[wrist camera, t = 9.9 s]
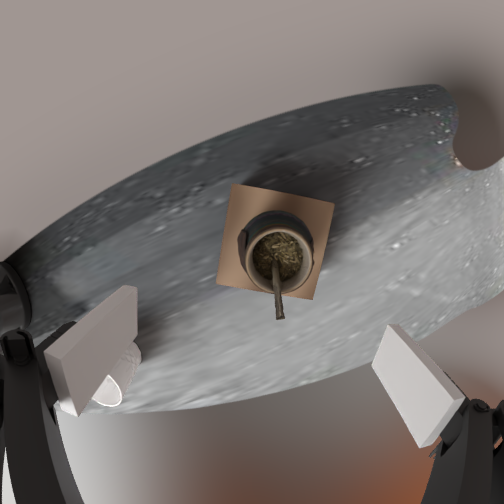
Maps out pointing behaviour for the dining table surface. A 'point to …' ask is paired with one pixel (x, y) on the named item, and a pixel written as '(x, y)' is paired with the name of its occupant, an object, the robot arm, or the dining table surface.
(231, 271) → the walnut stool
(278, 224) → the mate gourd
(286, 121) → the dining table surface
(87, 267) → the dining table surface
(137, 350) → the white cup
